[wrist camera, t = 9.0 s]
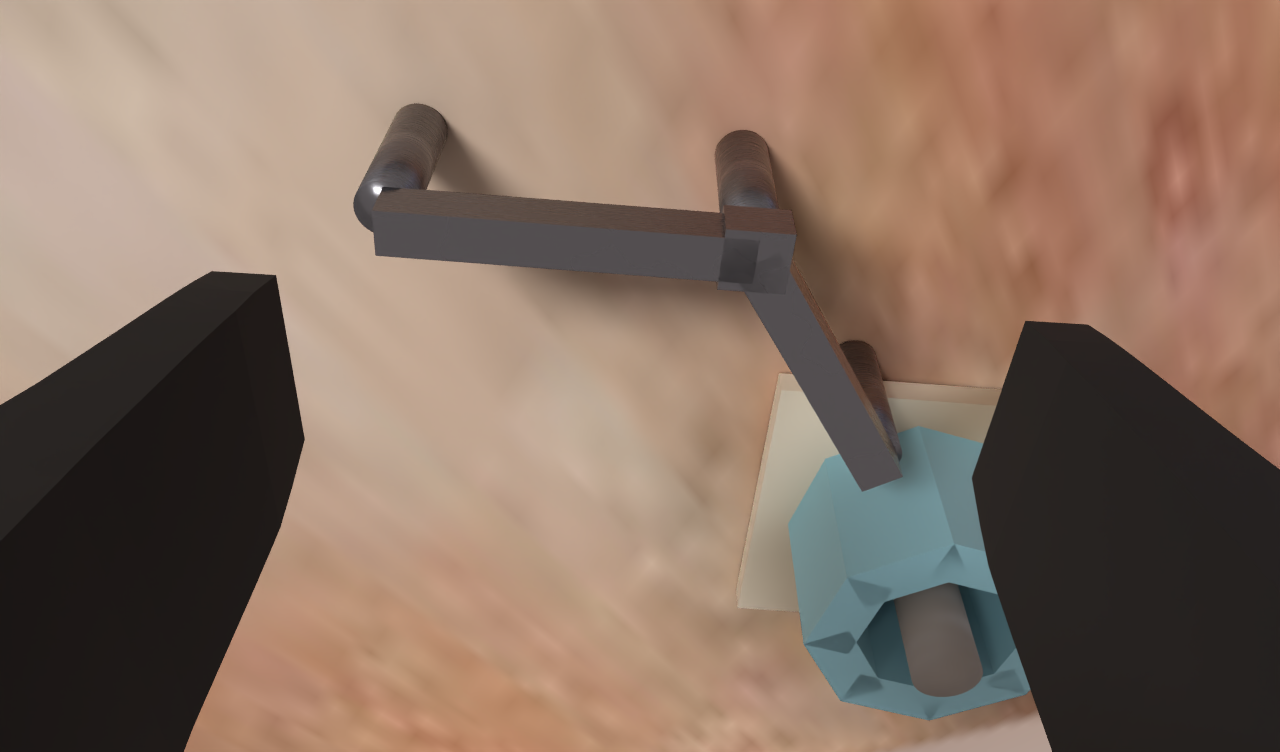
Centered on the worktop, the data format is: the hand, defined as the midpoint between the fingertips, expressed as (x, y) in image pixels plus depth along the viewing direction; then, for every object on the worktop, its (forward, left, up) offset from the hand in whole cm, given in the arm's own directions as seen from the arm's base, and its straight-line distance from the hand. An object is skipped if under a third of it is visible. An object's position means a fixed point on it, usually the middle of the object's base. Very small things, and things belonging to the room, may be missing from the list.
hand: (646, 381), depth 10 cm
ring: (-7, +11, -9) cm, 16 cm away
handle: (0, +4, -10) cm, 11 cm away
